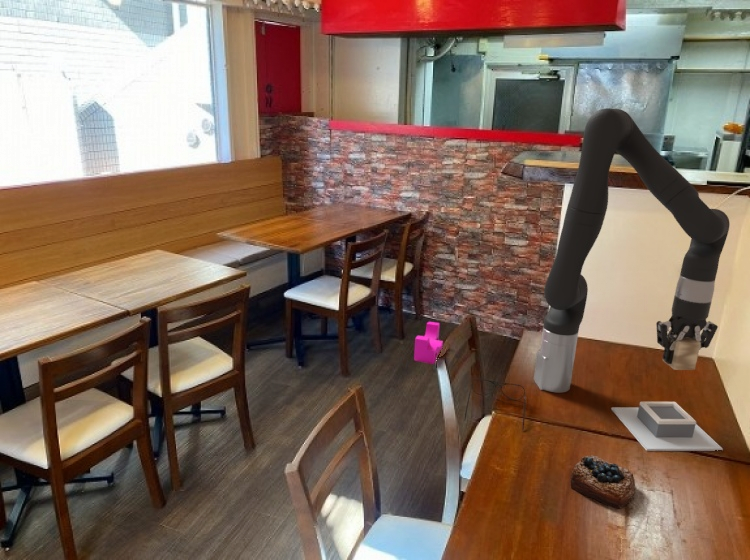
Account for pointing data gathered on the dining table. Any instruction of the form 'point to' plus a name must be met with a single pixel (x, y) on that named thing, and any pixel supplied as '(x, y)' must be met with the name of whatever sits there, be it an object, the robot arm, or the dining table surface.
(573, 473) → the pastry
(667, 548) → the dining table surface
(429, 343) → the toy block
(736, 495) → the dining table surface
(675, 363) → the maple block
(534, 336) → the dining table surface
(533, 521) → the dining table surface
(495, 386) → the glasses
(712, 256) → the robot arm
